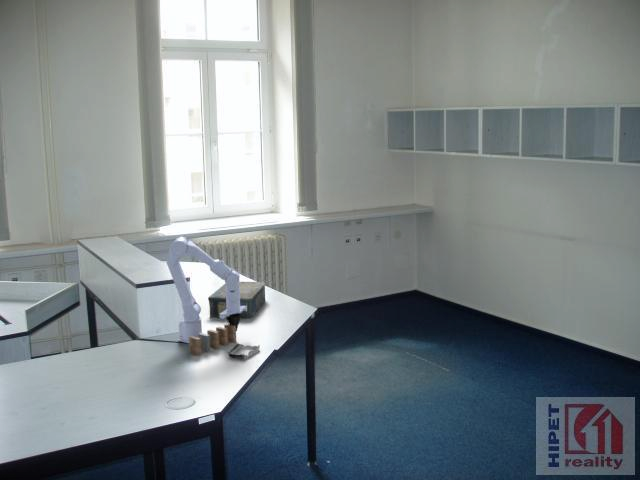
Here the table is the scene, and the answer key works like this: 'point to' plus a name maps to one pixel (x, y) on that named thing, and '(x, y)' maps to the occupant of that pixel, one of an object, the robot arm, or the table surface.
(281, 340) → the table surface
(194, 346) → the domino
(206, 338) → the domino
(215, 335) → the domino
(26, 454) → the table surface
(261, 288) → the metal box
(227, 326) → the domino
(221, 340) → the domino
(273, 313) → the table surface
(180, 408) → the table surface
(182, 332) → the robot arm
